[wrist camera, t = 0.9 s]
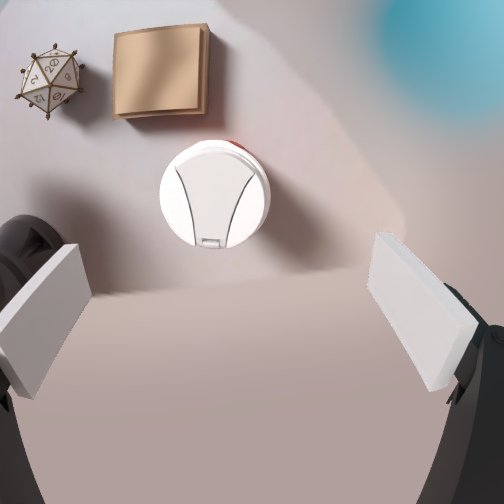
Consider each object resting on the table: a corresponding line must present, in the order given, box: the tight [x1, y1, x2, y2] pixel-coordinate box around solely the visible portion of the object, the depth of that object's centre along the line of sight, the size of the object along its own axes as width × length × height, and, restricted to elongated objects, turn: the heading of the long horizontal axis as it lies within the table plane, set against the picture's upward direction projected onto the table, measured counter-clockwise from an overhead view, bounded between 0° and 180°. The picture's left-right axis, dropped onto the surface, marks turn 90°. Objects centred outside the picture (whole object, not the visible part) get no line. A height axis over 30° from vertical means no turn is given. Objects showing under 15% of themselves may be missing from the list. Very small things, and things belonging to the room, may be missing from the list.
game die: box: [14, 43, 85, 120], centre depth 25 cm, size 9×8×10 cm
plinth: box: [112, 23, 210, 120], centre depth 28 cm, size 10×10×4 cm
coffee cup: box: [160, 140, 271, 249], centre depth 28 cm, size 8×8×15 cm
